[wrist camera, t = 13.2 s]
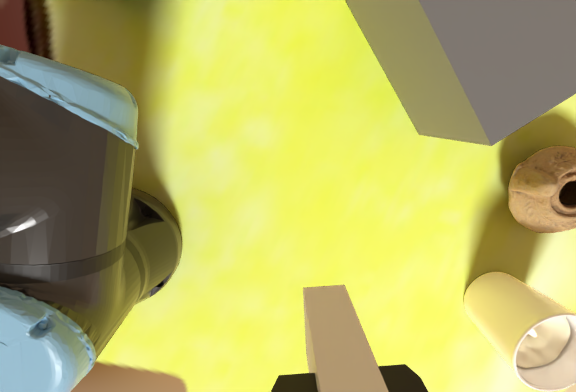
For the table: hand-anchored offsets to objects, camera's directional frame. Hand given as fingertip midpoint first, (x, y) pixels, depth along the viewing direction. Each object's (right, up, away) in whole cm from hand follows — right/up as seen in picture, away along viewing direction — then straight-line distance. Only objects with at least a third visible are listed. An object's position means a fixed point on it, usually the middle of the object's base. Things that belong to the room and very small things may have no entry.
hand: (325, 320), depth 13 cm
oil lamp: (+33, +6, +34) cm, 47 cm away
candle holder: (+28, -10, +37) cm, 47 cm away
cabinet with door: (+18, +24, +28) cm, 41 cm away
